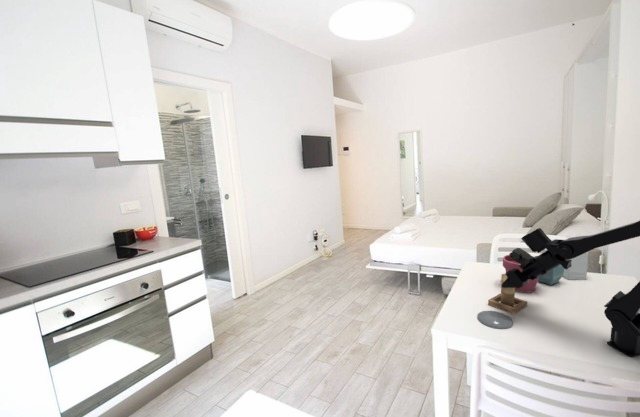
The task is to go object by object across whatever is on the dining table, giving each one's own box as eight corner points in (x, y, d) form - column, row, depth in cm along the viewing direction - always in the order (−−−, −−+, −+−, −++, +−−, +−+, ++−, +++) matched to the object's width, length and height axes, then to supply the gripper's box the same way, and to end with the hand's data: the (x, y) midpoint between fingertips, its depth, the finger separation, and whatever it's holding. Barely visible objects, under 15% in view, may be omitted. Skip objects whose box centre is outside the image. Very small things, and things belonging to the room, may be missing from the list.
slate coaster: (521, 326, 101) (521, 324, 101) (490, 330, 100) (490, 329, 100) (498, 310, 112) (498, 309, 112) (470, 314, 111) (470, 312, 111)
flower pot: (530, 281, 134) (531, 261, 132) (542, 276, 137) (543, 257, 136) (552, 288, 126) (554, 267, 124) (564, 283, 129) (566, 263, 128)
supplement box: (587, 280, 131) (589, 252, 129) (567, 279, 132) (569, 252, 130) (576, 273, 138) (578, 247, 136) (558, 273, 139) (559, 247, 137)
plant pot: (534, 281, 133) (535, 254, 131) (548, 296, 120) (550, 265, 118) (497, 280, 137) (498, 253, 135) (508, 294, 124) (509, 264, 121)
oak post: (517, 307, 113) (518, 277, 111) (506, 309, 112) (507, 278, 111) (508, 302, 117) (509, 273, 115) (498, 303, 117) (498, 274, 115)
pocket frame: (527, 306, 113) (527, 301, 113) (514, 314, 109) (514, 309, 108) (501, 297, 121) (501, 292, 121) (488, 304, 116) (488, 299, 116)
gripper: (539, 238, 110) (506, 259, 122) (512, 249, 101) (480, 270, 112) (563, 264, 105) (527, 283, 116) (537, 278, 96) (501, 297, 107)
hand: (508, 283), depth 113 cm, fingers open, 9 cm apart
